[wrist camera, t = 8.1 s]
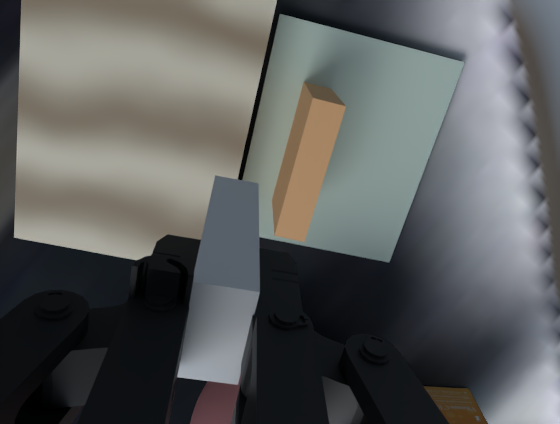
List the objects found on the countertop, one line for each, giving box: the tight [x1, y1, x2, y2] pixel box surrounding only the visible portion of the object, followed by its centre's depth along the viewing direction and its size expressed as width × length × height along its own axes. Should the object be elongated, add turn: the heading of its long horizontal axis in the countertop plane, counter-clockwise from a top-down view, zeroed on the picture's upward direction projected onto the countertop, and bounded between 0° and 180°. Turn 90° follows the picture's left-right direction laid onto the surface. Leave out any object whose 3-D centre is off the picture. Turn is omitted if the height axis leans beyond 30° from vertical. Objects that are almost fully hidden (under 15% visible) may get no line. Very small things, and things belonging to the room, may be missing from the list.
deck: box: [14, 0, 277, 260], centre depth 32 cm, size 20×14×4 cm
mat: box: [242, 14, 465, 262], centre depth 35 cm, size 16×13×1 cm
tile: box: [272, 82, 346, 242], centre depth 32 cm, size 9×6×2 cm
